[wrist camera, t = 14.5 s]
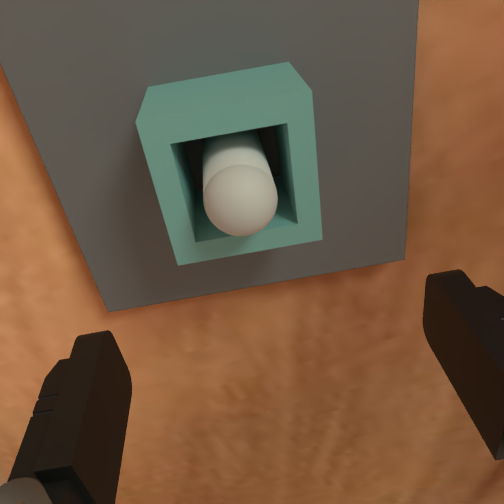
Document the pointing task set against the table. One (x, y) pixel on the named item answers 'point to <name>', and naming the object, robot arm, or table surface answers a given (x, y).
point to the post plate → (197, 42)
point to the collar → (224, 122)
